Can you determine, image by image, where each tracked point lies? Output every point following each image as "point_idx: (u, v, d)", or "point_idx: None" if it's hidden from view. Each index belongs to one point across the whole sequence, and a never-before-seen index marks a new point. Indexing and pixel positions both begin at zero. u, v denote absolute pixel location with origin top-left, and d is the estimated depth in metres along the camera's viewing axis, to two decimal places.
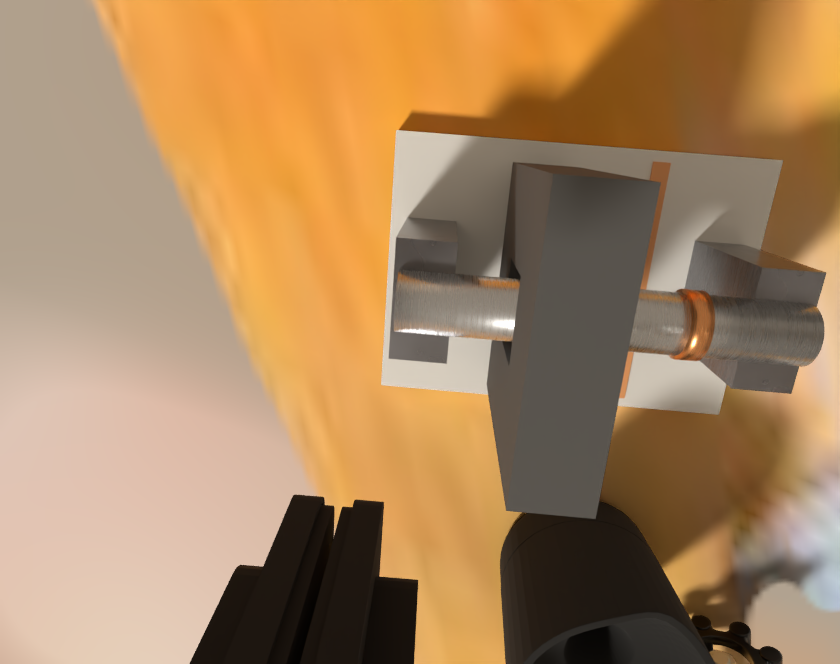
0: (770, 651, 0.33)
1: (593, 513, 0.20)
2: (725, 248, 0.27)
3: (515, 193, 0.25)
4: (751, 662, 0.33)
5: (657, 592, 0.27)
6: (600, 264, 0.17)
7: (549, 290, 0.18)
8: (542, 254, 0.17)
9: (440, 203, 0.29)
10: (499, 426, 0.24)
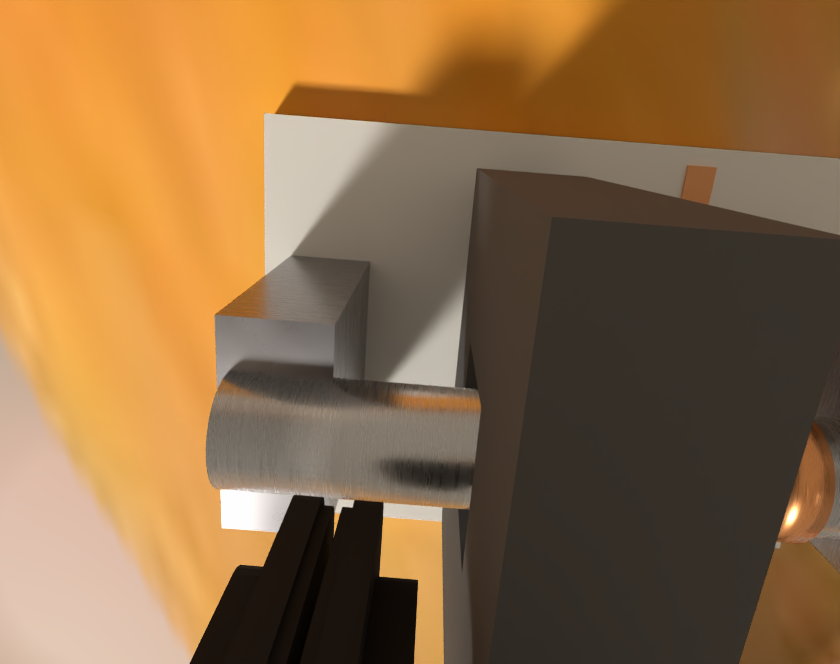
0: None
1: None
2: None
3: (478, 225, 0.14)
4: None
5: None
6: (679, 458, 0.06)
7: (542, 519, 0.07)
8: (522, 432, 0.06)
9: (343, 232, 0.18)
10: (448, 663, 0.13)
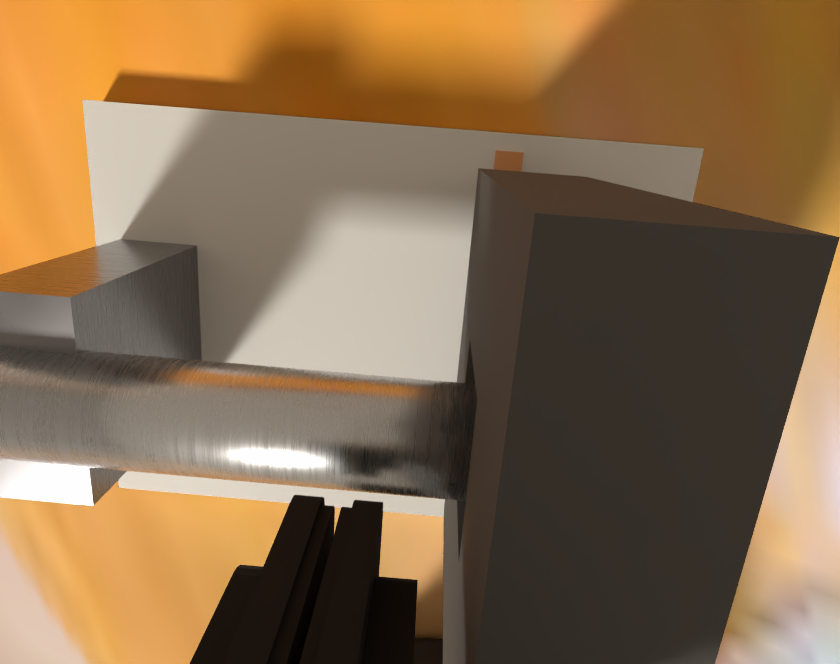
0: None
1: None
2: None
3: (478, 223, 0.14)
4: None
5: None
6: (659, 446, 0.07)
7: (528, 503, 0.07)
8: (509, 419, 0.07)
9: (169, 217, 0.18)
10: (446, 651, 0.13)
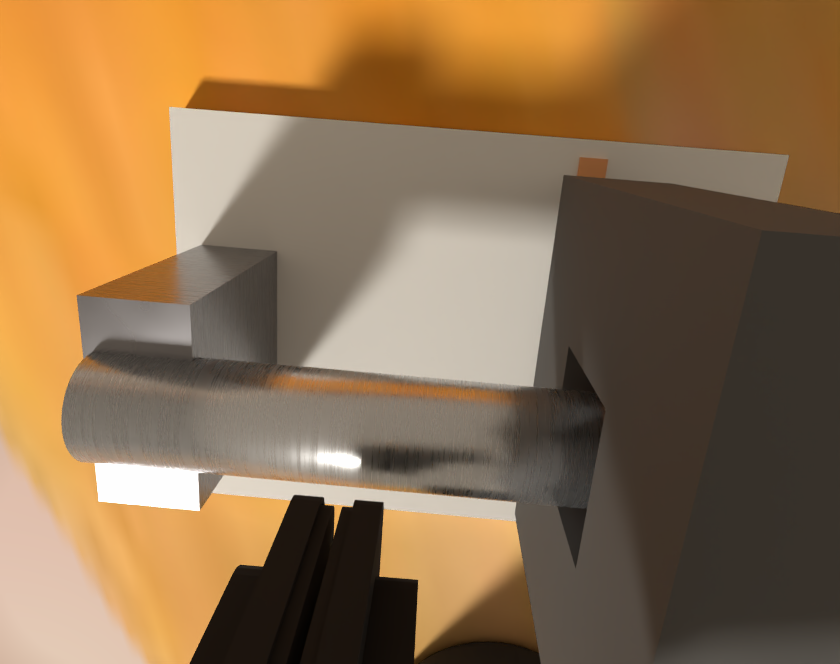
0: None
1: None
2: None
3: (574, 231, 0.14)
4: None
5: None
6: None
7: (722, 515, 0.07)
8: (712, 432, 0.07)
9: (250, 222, 0.18)
10: (551, 657, 0.13)
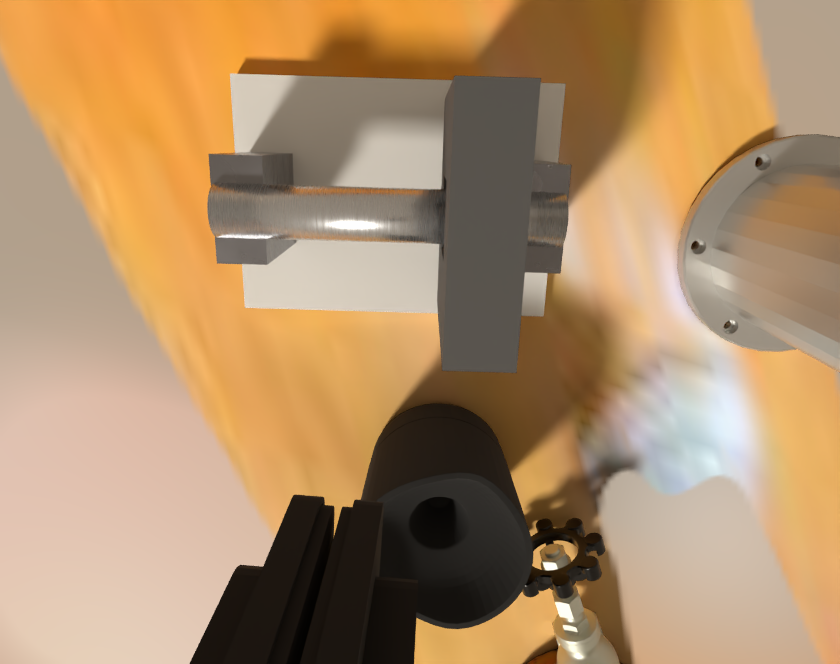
0: (593, 536, 0.38)
1: (514, 368, 0.24)
2: None
3: (445, 121, 0.29)
4: None
5: (477, 461, 0.31)
6: (499, 150, 0.21)
7: (460, 174, 0.22)
8: (452, 144, 0.21)
9: (276, 137, 0.33)
10: (440, 317, 0.28)
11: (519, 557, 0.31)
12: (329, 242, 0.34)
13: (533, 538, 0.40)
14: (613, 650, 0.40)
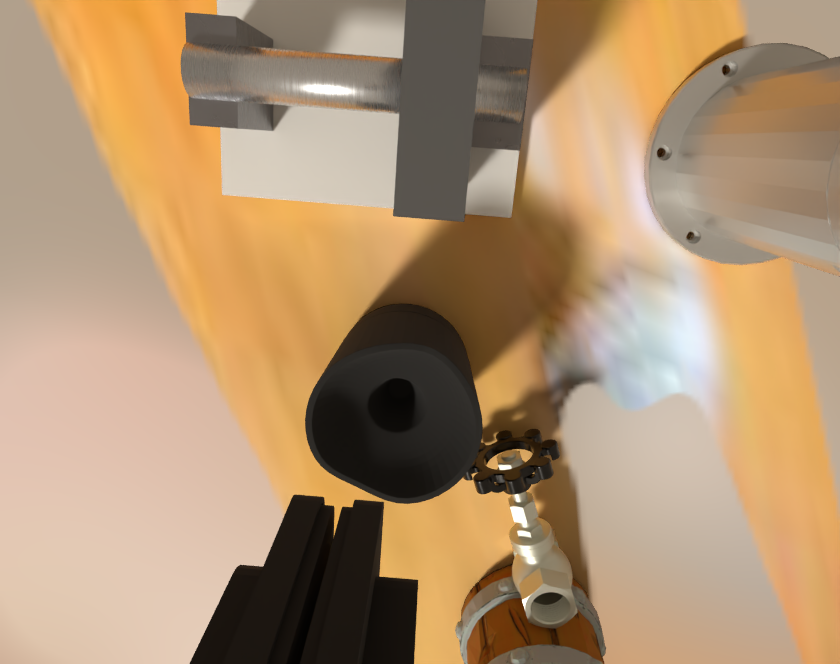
0: (548, 442, 0.39)
1: (462, 217, 0.25)
2: None
3: None
4: None
5: (434, 340, 0.32)
6: None
7: (414, 14, 0.23)
8: None
9: (258, 22, 0.34)
10: None
11: (469, 434, 0.32)
12: (306, 132, 0.35)
13: (492, 446, 0.41)
14: (566, 559, 0.41)
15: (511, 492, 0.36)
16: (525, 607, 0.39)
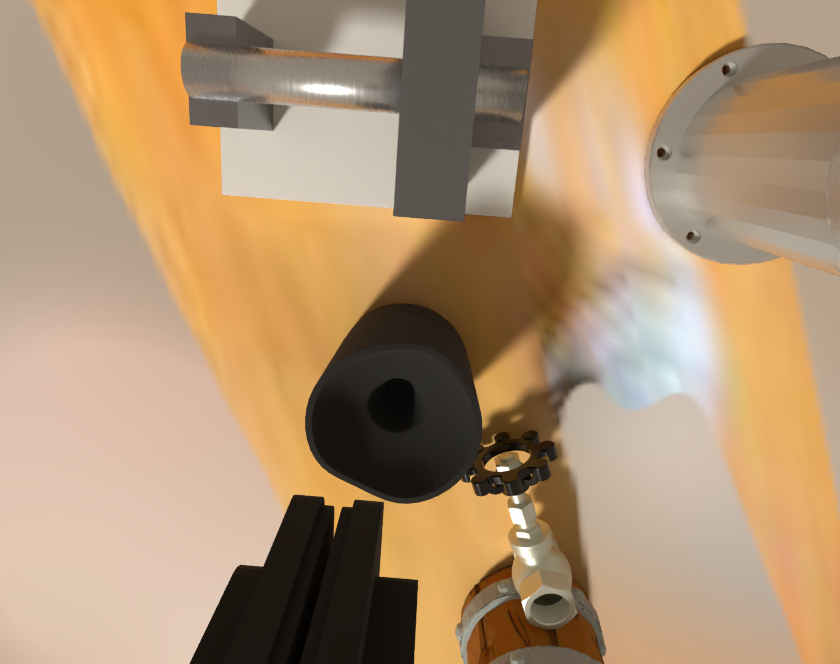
0: (546, 443, 0.39)
1: (462, 217, 0.25)
2: None
3: None
4: None
5: (434, 341, 0.32)
6: None
7: (414, 13, 0.23)
8: None
9: (258, 22, 0.34)
10: None
11: (469, 434, 0.32)
12: (306, 132, 0.35)
13: (489, 448, 0.41)
14: (566, 560, 0.41)
15: (509, 494, 0.36)
16: (525, 608, 0.39)
